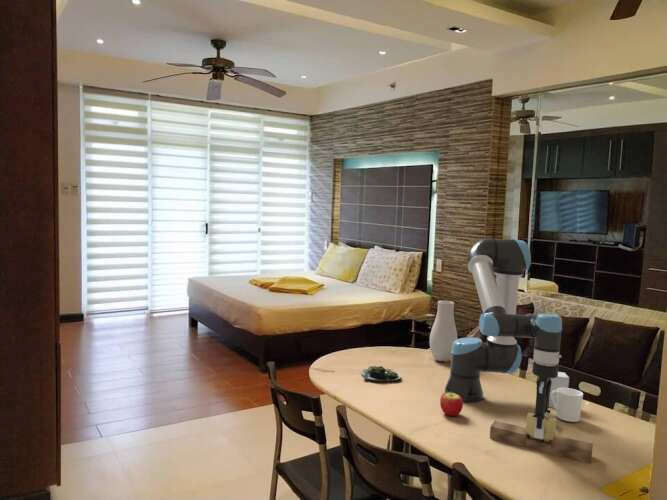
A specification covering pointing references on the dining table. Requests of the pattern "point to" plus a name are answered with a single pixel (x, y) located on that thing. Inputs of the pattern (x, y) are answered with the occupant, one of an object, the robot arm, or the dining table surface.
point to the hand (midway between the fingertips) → (540, 435)
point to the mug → (568, 404)
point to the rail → (542, 442)
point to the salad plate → (380, 375)
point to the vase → (443, 332)
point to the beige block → (548, 427)
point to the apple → (451, 403)
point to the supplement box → (558, 386)
